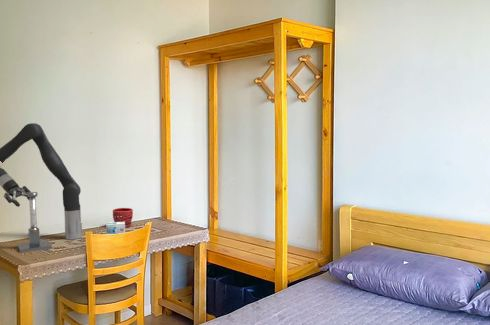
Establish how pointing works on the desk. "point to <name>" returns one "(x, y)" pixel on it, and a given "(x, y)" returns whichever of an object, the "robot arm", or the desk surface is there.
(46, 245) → the stand
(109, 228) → the light bulb box
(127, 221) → the plant pot
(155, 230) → the desk surface
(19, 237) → the desk surface
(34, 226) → the jack column
